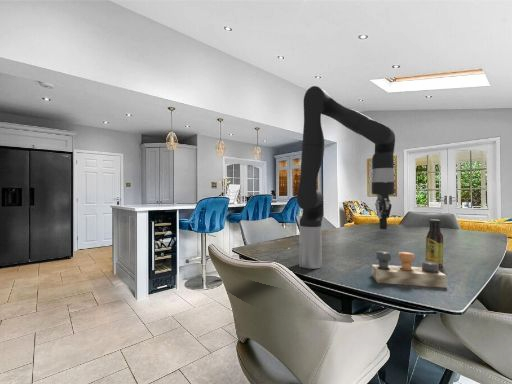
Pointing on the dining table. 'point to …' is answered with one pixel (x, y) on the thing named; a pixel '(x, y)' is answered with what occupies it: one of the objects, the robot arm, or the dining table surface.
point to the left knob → (383, 259)
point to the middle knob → (406, 260)
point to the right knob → (430, 267)
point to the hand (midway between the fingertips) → (383, 229)
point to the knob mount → (408, 276)
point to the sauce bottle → (434, 243)
